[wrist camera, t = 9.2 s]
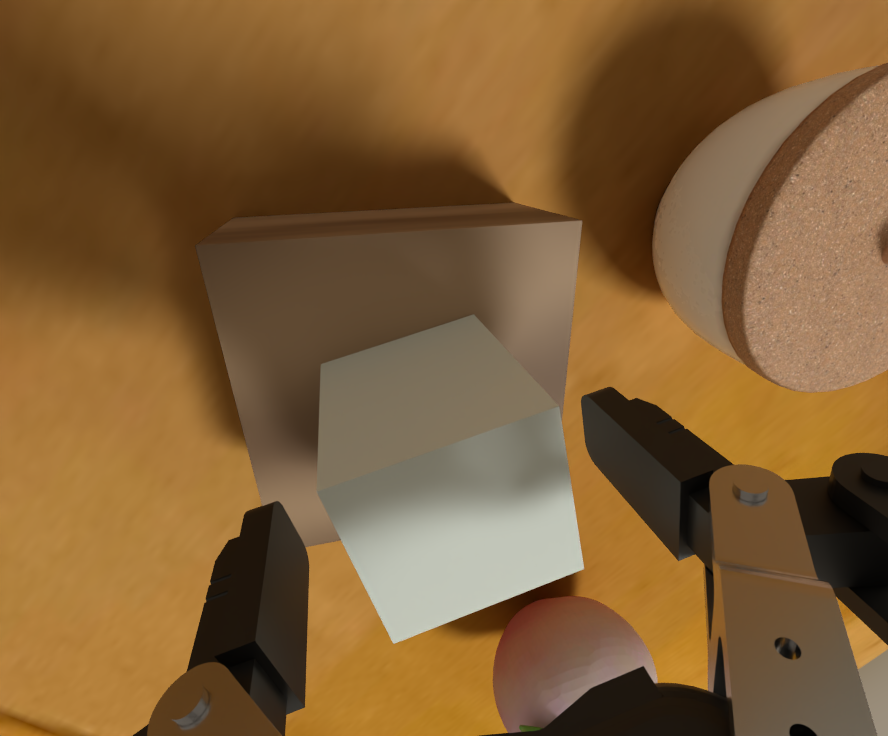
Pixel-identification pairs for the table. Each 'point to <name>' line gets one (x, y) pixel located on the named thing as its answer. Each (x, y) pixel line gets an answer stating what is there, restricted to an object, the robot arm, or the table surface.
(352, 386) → the off-white cube
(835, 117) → the lidded jar
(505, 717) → the decorative fruit
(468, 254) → the walnut block
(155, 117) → the table surface
